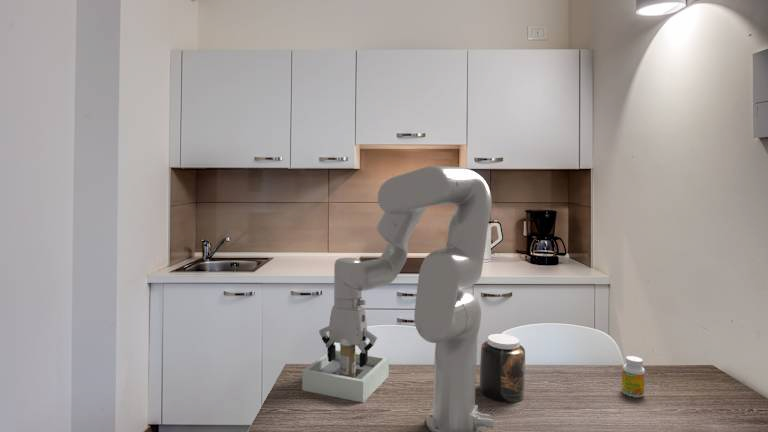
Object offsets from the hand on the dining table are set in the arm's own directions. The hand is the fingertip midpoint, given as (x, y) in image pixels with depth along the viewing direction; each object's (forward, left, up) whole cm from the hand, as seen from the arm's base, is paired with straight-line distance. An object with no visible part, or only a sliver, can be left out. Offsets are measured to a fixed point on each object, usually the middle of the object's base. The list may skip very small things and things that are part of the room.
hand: (347, 362), depth 132 cm
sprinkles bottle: (0, 0, -6) cm, 6 cm away
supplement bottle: (-74, -25, -6) cm, 78 cm away
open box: (0, 0, -6) cm, 6 cm away
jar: (-41, -11, -6) cm, 43 cm away
